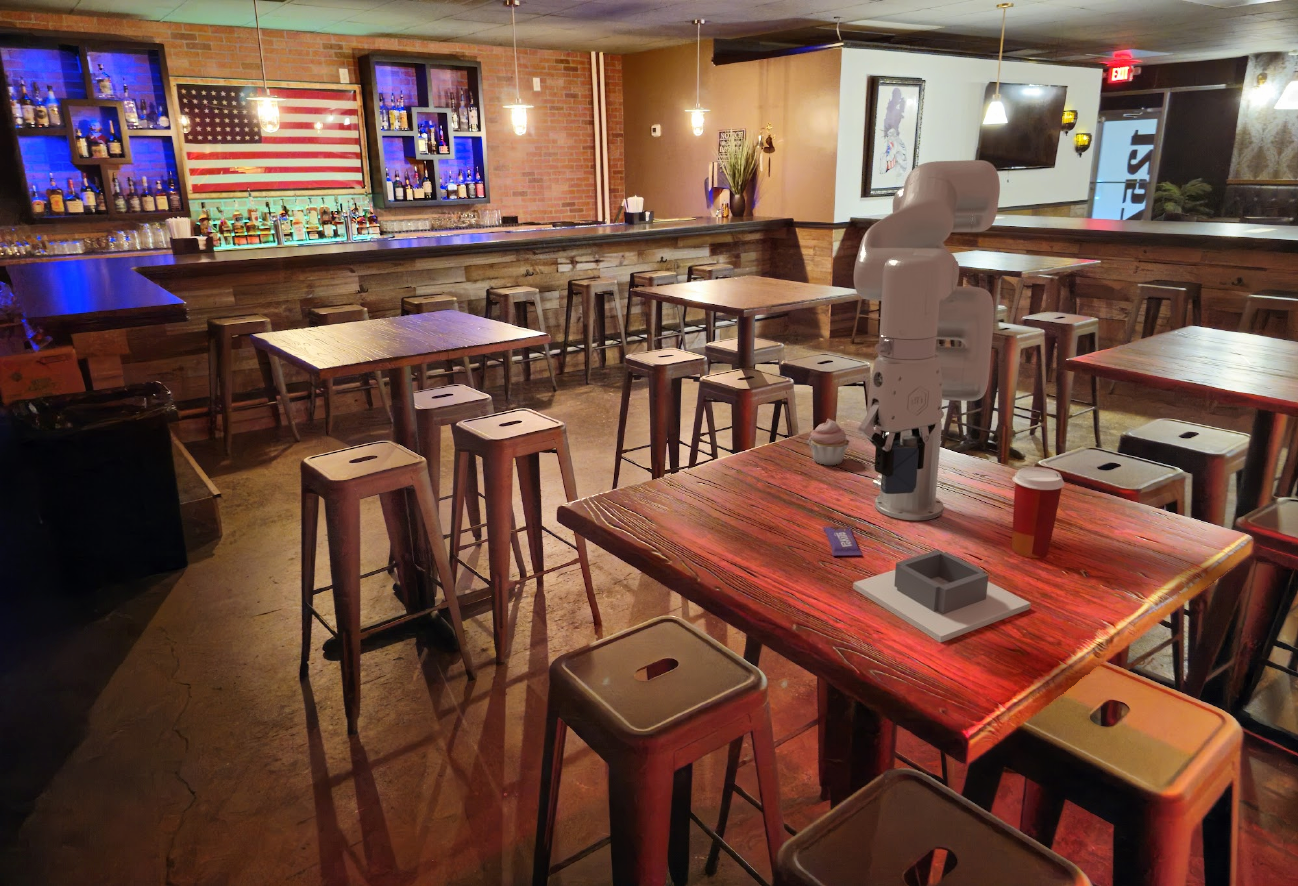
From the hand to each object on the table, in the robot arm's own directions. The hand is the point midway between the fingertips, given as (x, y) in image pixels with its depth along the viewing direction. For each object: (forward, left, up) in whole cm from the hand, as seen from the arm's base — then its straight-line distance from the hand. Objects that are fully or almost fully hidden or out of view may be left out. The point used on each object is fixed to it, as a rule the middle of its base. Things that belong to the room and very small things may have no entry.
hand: (898, 468), depth 120 cm
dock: (+4, +6, -21) cm, 22 cm away
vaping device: (0, 0, -4) cm, 4 cm away
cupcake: (-53, +31, -21) cm, 65 cm away
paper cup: (0, +31, -21) cm, 37 cm away
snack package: (-19, +6, -22) cm, 29 cm away
